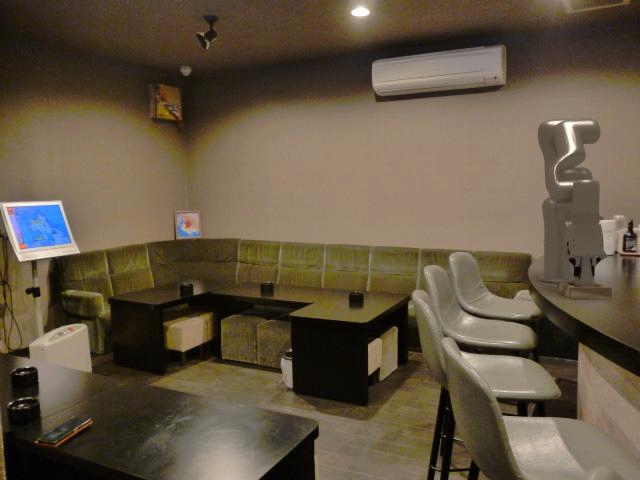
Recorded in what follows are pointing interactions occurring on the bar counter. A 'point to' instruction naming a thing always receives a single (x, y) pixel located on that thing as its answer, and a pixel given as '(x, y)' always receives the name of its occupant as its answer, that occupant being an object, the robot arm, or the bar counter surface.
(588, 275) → the salt shaker
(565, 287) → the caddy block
